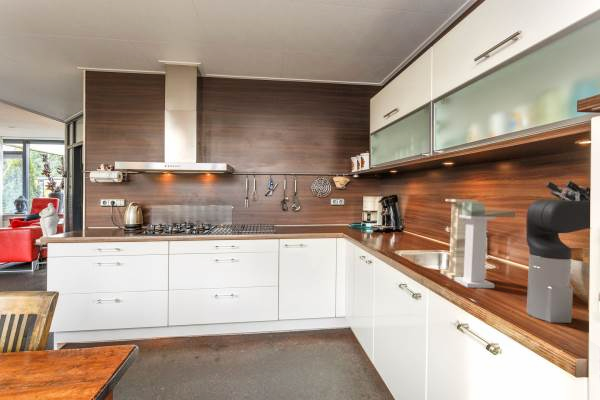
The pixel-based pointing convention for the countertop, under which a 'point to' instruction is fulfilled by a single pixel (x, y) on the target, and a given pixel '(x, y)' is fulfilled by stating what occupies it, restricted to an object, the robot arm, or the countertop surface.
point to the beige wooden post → (457, 240)
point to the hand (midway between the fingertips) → (557, 183)
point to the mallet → (480, 211)
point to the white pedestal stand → (475, 253)
